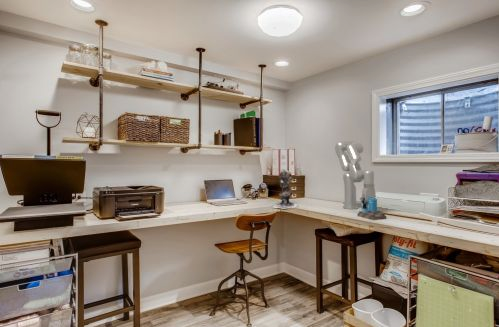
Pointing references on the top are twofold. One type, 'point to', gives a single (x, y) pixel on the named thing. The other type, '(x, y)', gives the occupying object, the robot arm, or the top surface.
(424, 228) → the top surface
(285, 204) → the dark grey statue
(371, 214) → the display riser
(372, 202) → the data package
